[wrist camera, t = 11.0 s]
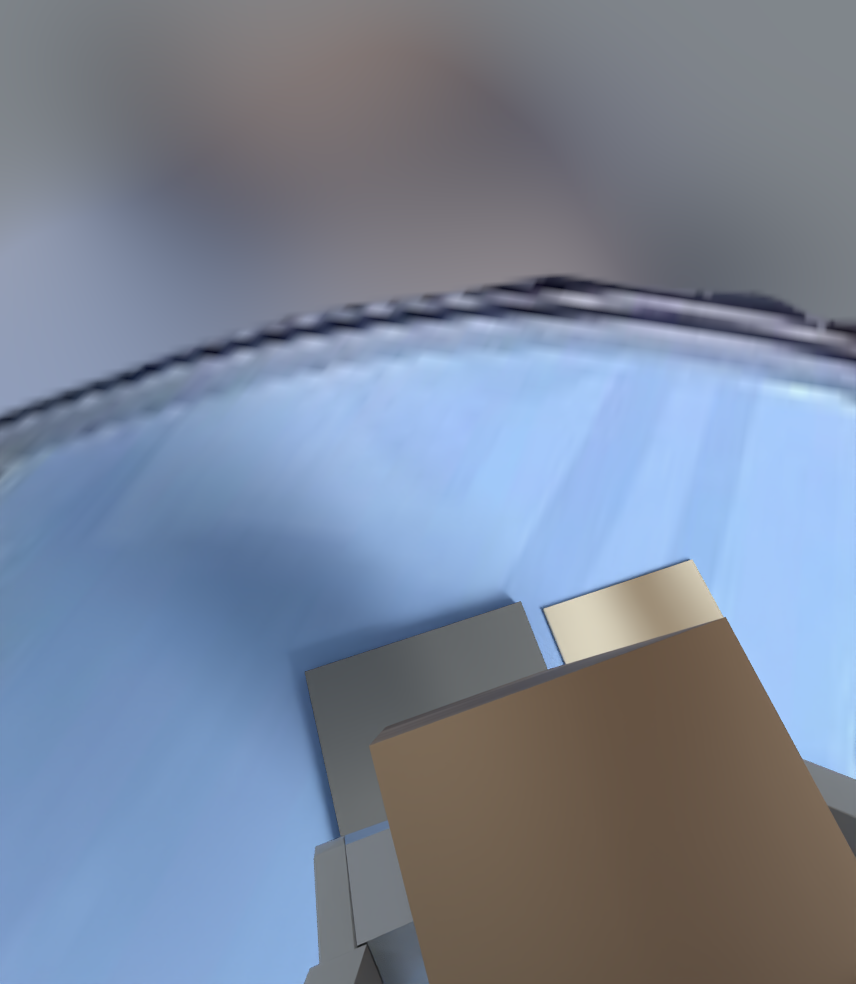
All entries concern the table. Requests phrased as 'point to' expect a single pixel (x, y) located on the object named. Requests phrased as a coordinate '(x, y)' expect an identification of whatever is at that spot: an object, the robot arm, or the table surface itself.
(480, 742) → the walnut block
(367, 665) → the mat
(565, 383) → the table surface
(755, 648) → the table surface
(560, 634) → the placard
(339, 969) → the robot arm
